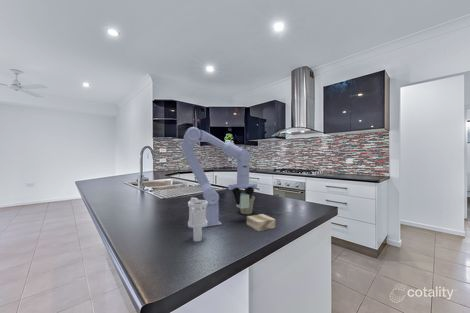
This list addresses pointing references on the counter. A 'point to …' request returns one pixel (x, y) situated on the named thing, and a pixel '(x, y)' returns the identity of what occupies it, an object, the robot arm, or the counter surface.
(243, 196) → the sage block
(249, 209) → the flower pot
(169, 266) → the counter surface
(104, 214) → the counter surface
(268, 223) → the beech base
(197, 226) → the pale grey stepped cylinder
